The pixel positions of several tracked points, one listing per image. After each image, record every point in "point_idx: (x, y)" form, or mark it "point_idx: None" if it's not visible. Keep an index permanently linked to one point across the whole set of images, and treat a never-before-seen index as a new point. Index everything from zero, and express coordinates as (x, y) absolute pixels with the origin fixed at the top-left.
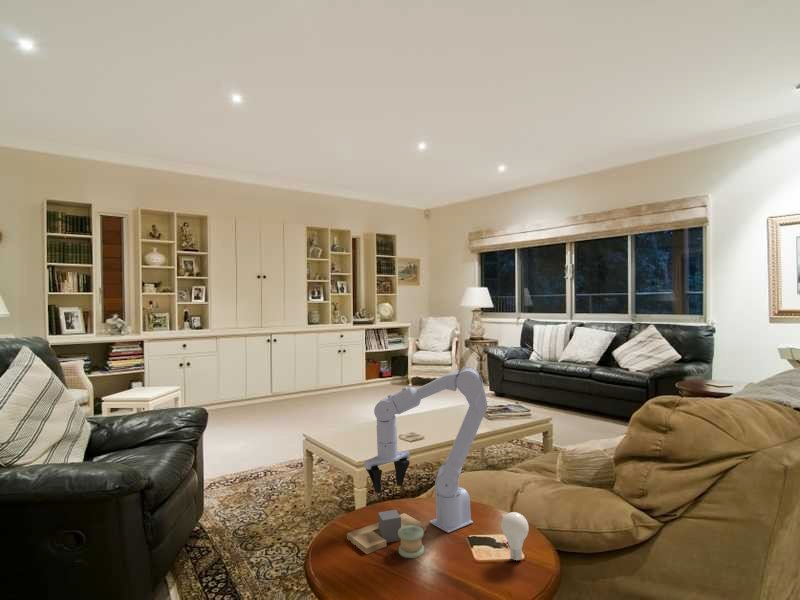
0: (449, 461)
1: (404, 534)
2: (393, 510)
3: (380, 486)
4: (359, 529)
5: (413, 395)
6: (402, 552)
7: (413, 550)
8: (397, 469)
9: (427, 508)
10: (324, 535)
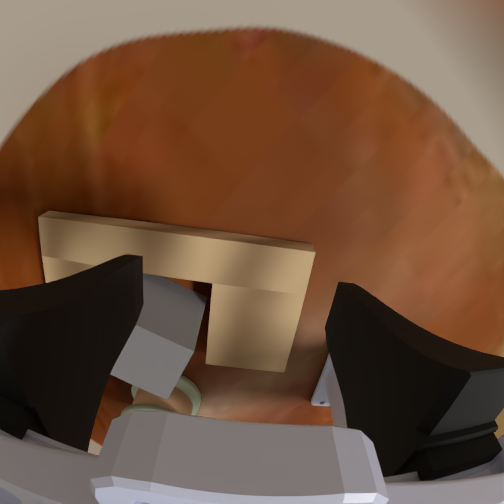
0: None
1: None
2: (179, 349)
3: (123, 342)
4: (79, 225)
5: None
6: (134, 394)
7: None
8: (378, 374)
9: (430, 248)
10: (14, 134)
